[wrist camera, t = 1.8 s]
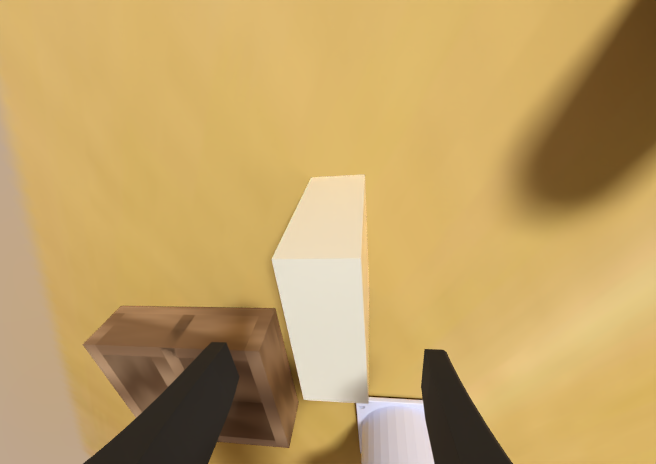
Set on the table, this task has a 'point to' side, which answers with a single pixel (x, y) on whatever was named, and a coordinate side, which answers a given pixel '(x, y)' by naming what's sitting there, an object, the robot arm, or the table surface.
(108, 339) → the rack
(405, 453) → the robot arm
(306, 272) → the white square block
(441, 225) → the table surface
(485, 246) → the table surface
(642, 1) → the table surface
